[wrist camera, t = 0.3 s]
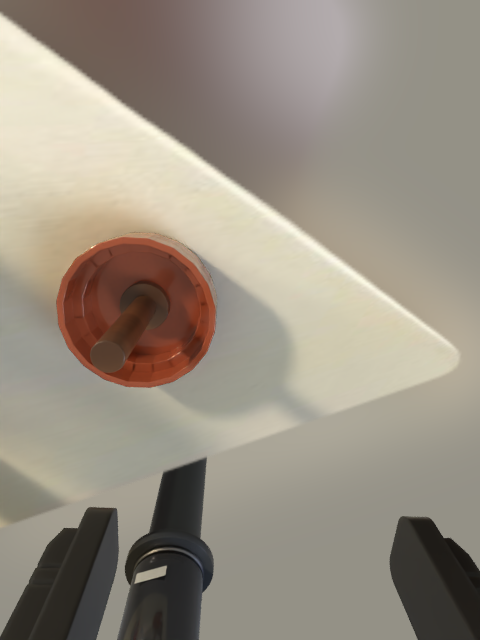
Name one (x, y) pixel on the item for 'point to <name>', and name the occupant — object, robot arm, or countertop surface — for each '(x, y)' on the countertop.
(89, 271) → the bowl
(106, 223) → the countertop surface
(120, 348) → the masher
